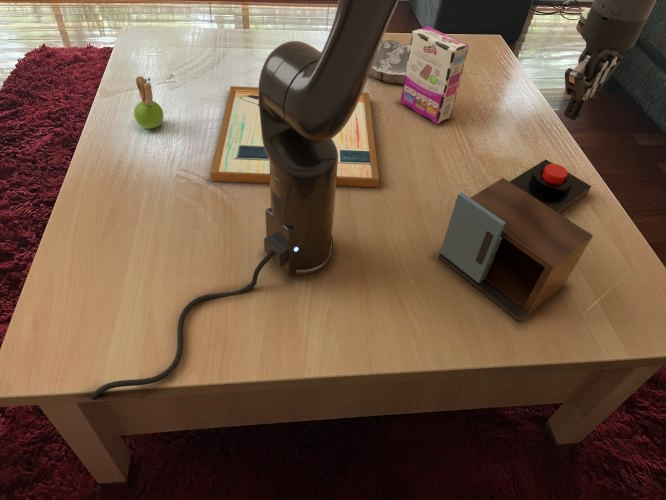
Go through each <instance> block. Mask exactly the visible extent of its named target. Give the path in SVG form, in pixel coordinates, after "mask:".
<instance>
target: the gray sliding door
mask: <svg viewBox="0 0 666 500" xmlns="http://www.w3.org/2000/svg"><path fill="white" fill-rule="evenodd" d="M505 224H506V223H505V222H504V221H503V220H501V219H500V218H498V217H497V216H495V215H494V214H493V213H491V212H490V211H488V210H487V209H485V208H484V207H482V206H481V205H480V204H478V203H477V202H475V201H474V200H472V199H471V198H470V197H469V196H468V195H467V194H466V193H464V192H462V191H460V192H459V193H458V194H457V196H456V199H455V203H454V206H453V209H452V213H451V215H450V219H449V222H448V225H447V229H446V232H445V235H444V238H443V242H442V245H441V248H440V253H439V254H442V255H443V256H445V257H446V258H447V259H449V260H450V261H451V262H452V263H454V264H455V265H456V266H457V267H459V268H460V269H461V270H462V271H464V272H465V273H466V274H467V275H469V276H470V277H471V278H473V279H474V280H475V281H476V282H478V283H480V282H481V281H482V279H483V277H484V274H485V272H486V270H487V267H488V265H489V262H490V260H491V257H492V255H493V253H494V250H495V248H496V245H497V243H498V241H499V238H500V236H501V233H502V231H503V228H504V226H505Z"/></svg>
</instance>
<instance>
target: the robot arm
mask: <svg viewBox="0 0 666 500" xmlns="http://www.w3.org/2000/svg"><path fill="white" fill-rule="evenodd" d="M399 1H400V0H337V6H336V9H335V15H334V18H333V23H332V25H331V28H330V31H329V34H328V36H327V38H326V41H325V44H324V46H323V48H322V51H320V50H318V49H317V48H316V47H313V46H312V45H310V44H308V43H306V42H304V41H301V40H290V41H286V42H284V43H281V44H280V45H278V46H277V47H276V48H274V49H273V50H272V51H271V52H270V53H269V55H268V56H267V57H266V59H265V61H264V62H263V65H262V68H261V70H260V75H259V79H258V98H259V111H260V122H261V132H262V141H263V145H264V149H265V151H266V153H267V155H268V158H269V164H270V183H269V186H270V187H269V189H270V193H269V194H270V207H269V208H266V209H265V212H264V213H265V234H266V236H265V237H264V238H263V246H264V247H263V249H264V250H263V251H264V252H265V253H266V255H265V256H264V257H263V258H262V259H261V261H259V263H258V264H257V266H256V267H255V269H254V271H253V274H252V277H251V281H250V282H249V283H248V284H247V285H246V286H244V287H242V288H240V289H237V290H233V291H228V292H227V291H226V292H215V293H209V294H204V295H201V296H198V297H196V298H194V299H193V300H191V301H190V302H189V303H188V304H187V305H186V306H185V307H184V308H183V309H182V311H181V313H180V314H179V317H178V320H177V331H176V332H177V345H176V346H177V347H176V353H175V356H174V359H173V360H172V363H171V364H170V365H169V366H168V367H167V368H166V369H165V370H164V371H163V372H161V373H158V374H157V375H155V376H152V377H147V378H138V379H123V380H116V381H111V382H107V383H105V384H103V385H101V386H100V387H98V388H97V389H96V390H95V391H93V393H92V394H91V396H90V398H89V399H90V400H92V401H94V400H97V399H98V398H99V397H100V395H102V394H104V393H105V392H107V391H109V390H112V389H115V388H122V387H135V386H146V385H150V384H155V383H157V382H159V381H161V380H164V379H165V378H167V377H168V376H169V375H171V374H172V373H173V371H174V370H176V368H177V367H178V365H179V364H180V362H181V358H182V356H183V353H184V324H185V319H186V316H187V314H188V313H189V311H190V310H191V309H193V307H194V306H196V305H197V304H199V303H202V302H204V301H209V300H214V299H221V298H225V297H232V296H239V295H243V294H245V293H248V292H249V291H250V290H252V289H253V288H254V287H255V286H256V284H257V282H258V278H259V274H260V272H261V270H262V269H263V267H264V266H266V264H267V263H268V262H269V261H270V260H272V261H273V262H274V263H275V264H276V265H277V267H279V268H280V269H281V270H282V271H283V272H284V273H285V274H286V275H287V276H288V277H293V276H294V275H309V274H313V273H316V272H319V271H320V270H322V269H323V268H324V267H326V266H327V264H328V263H329V262H330V260H331V256H332V247H334V239H333V225H334V214H335V201H336V191H337V186H336V180H337V168H338V151H337V148H336V145H335V143H334V142H333V140H332V139H331V138H333V137H335V136H336V135H337V134H338V133H339V132H340V131H341V130H342V129H343V127H344V126H345V125H346V124H347V122H348V121H349V119H350V117H351V116H352V114H353V112H354V110H355V108H356V106H357V104H358V101H359V99H360V96H361V94H362V92H364V88H365V86H366V83H367V81H368V78H369V76H368V75H369V73H370V70H371V67H372V65H373V62H374V59H375V57H376V54H377V51H378V49H379V46H380V44H381V41H383V38H384V35H385V33H386V31H387V29H388V26H389V24H390V22H391V19H392V17H393V15H394V13H395V10H396V8H397V6H398V3H399ZM656 2H657V0H593V2H592V4H591V7H590V9H589V11H588V14H587V16H586V18H585V21H584V23H583V26H582V28H581V30H580V36H581V38H582V39H583V40H584V42H585V44H586V46H585V47H584V49H583V51H581V52H580V55H579V57H578V60H577V63H578V64H577V65H576V66H575V68H574V69H573V68H571V67H568V68H567V69H566V70H565V72H564V87H565V94H566V95H568V96H570V99H569V101H568V102H567V106H566V108H565V111H564V112H563V115H564V116H565V117H566V118H569V119H570V120H572V121H576V120H577V119H579V118H581V117H582V115H583V112H584V110H585V108H586V106H587V105H588V103H589V100H590V98H593V96H594V95H595V93H596V91H597V92H599V91H600V90H601V89H602V88H603V86H604V85H605V84H606V83H607V81H608V80H609V79H610V77H611V76H612V74H613V73H614V72H615V70H616V69H617V68H618V66H619V65H620V64H621V63H622V61H623V59H624V55H621V54H619V53H620V52H626V51H629V50H631V49H632V48H633V47H635V45H636V43H637V40H638V38H639V37H640V35H641V33H642V30H643V29H644V26H645V25H646V23H647V21H648V19H649V17H650V14H651V13H652V10H653V8H654V7H655V4H656Z"/></svg>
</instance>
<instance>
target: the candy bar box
mask: <svg viewBox="0 0 666 500" xmlns="http://www.w3.org/2000/svg"><path fill="white" fill-rule="evenodd" d="M409 44H410V49H409V55H408V61H407V67H406V72H405V78H404V84H402V89H401V90H402V91H401V96H400V101H399V102H400V104H401V105H403V106H404V107H406V108H408V109H410V110H411V111H413V112H414V113H416V114H418V115H420V116H422V117H423V118H424V119H427V120H429V122H432V123H434V124H436V125H439V124H441V123H444V122H445V121H447V120H450V119H451V117H452V114H453V110H454V106H455V101H456V98H457V94H458V90H459V86H460V82H461V78H462V74H463V70H464V66H465V63H466V58H467V54H468V52H469V51H468V50H469V47H470V45H469V44H467V43H465V42H463V41H461V40H458V39H457V38H454V37H452V36H450V35H448V34H445V33H443V32H441V31H439V30H437V29H435V28H432V27H430V26H428V25H426V26H423V27H420V28H418V29H415V30H413V31H412V32H411V38H410V43H409Z"/></svg>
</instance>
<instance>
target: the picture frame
mask: <svg viewBox="0 0 666 500" xmlns="http://www.w3.org/2000/svg"><path fill="white" fill-rule="evenodd" d="M258 88H259V86H258V87H256V86H235V85H230V86H229V91H228V96H227V99H226V103H225V104H226V105H225V108H224V113H223V116H222V121H221V126H220V130H219V134H218V138H217V142H216V146H215V151H214V156H213V160H212V164H211V168H210V172H209V173H210V180H211V182H225V183H228V182H229V183H250V184H251V183H253V184H270V164H269V158H268V155H267V153H266V151H265V149H264V145H263V141H262V132H261V122H260V111H259V98H258ZM371 108H372V107H371V99H370V93H369V92H364V91H362V94H361V96H360V99H359V101H358V104H357V106H356V108H355V110H354V112H353V114H352V116H351V117H350V119H349V121H348V122H347V124H346V125H345V126H344V127H343V129H342V130H341V131H340V132H339V133H338V134H337V135H336V136H335V137H333V138H331V139H332V140H333V142H334V143H335V145H336V148H337V151H338V168H337V180H336V187H356V188H358V187H359V188H379V184H380V176H379V175H380V174H379V166H378V158H377V151H376V141H375V134H374V124H373V116H372V109H371Z"/></svg>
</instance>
